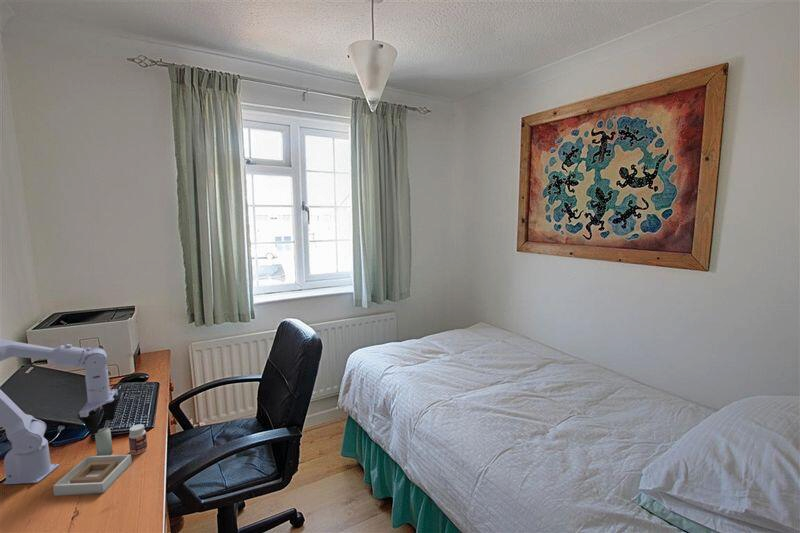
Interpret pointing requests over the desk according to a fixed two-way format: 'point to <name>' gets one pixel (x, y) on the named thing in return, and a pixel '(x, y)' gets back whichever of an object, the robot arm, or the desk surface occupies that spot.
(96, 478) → the tray
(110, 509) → the desk surface
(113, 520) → the desk surface
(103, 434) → the peg
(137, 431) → the pill bottle
